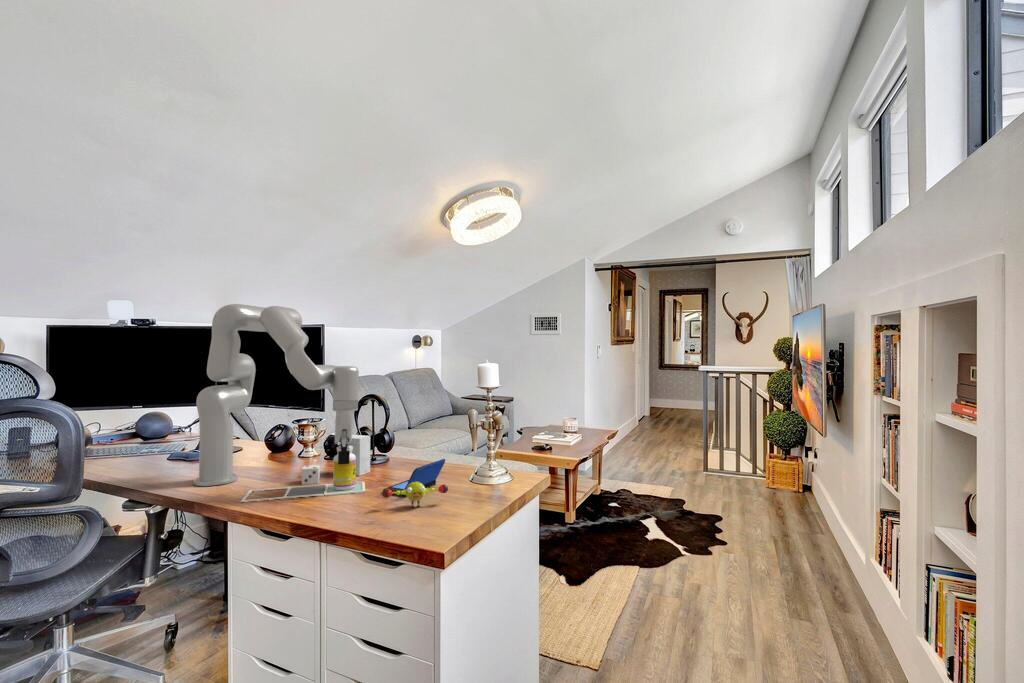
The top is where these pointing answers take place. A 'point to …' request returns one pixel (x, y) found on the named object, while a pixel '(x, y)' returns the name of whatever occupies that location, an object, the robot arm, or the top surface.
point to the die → (310, 474)
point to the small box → (361, 453)
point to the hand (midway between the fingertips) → (344, 460)
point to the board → (311, 491)
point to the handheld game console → (420, 477)
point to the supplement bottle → (344, 472)
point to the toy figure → (414, 492)
